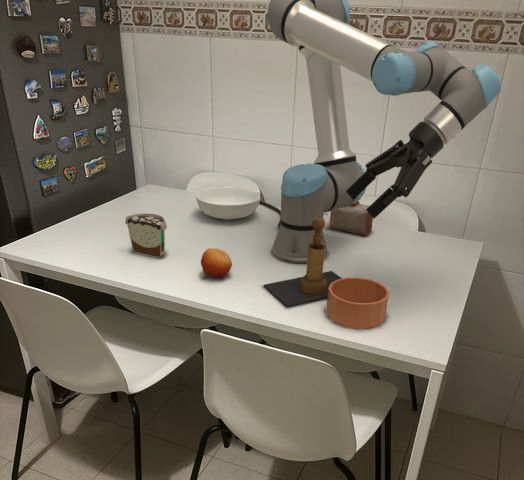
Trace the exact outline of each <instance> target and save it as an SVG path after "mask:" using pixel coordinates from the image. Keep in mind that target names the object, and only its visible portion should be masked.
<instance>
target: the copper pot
mask: <svg viewBox="0 0 524 480" xmlns="http://www.w3.org/2000/svg"><path fill="white" fill-rule="evenodd" d="M341 278H342V279H338V280H336V281H334V282H332V283H331V284H330V286H329V288H328V298H327V299H326V309H325V312H326V315H327V317H328V318H329V319H330V320H331V321H332V322H334V323H335V324H337V325H340V326H343V327H345V328H351V329H357V330H358V329H359V330H360V329H363V330H364V329H371V328H375V327H379V326H380V325H381V324H383V323H384V322H385V319H386V314H387V310H388V304H389V297H390V291H389V290H388V287H386V285H384V284H382V283H381V282H379V281H376V280H373V279H370V278H365V277H356V276H355V277H354V276H353V277H341Z"/></svg>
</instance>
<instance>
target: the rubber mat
mask: <svg viewBox="0 0 524 480" xmlns="http://www.w3.org/2000/svg"><path fill="white" fill-rule="evenodd" d="M322 276H323V277H324V278H325V279H326V280H327V288H326V291H325V292H324V293H322V294H318V295H312V294H307V293H304V292H303V291H301V289H300V281H301V278H302V277H303V276H300V277H299V276H298V277H295V278H290V279H285V280H280V281H275V282H271V283H265V284H263V288H264V289H265V290H266V291H268V292H269V293H270V294H271V295H272V296H273V297H274V298H275V299H276V300H278V301H279V302H280V303H281V304H282V306H284V307H285V308H287V309H288V308H292V307H296V306H297V307H298V306H301V305H305V304H309V303H314V302H318V301H322V300H327V298H328V288H329V286H330V284H331V283H332V282H334V281H336V280H338V279H342V278H343V277H341V276H339V275H338V274H337V273H335V272H334V271H332V270H329V271H323V273H322Z"/></svg>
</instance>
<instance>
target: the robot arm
mask: <svg viewBox="0 0 524 480" xmlns="http://www.w3.org/2000/svg"><path fill="white" fill-rule="evenodd" d="M266 16H267V23H268V26H269V29H270V31H271V33H272V34H273V35H274V36H275V37H276V38H277V39H278V40H281V41H282V42H284V43H286V44H288V45H290V46H291V47H294V48H295V47H296V48H297V47H298V53H299V54H300V55H301V56H302V57H304V59H305V60H306V71H307V77H308V85H309V92H310V99H311V108H312V116H313V122H314V133H315V138H316V147H317V156H316V158H315V160H314V161H313V163H306V164H304V163H301V164H297V165H293V166H291V167H289V168H287V169H286V170H285V171H284V173H283V175H282V181H281V185H280V193H281V194H280V196H281V197H280V208H278V207H276V206H274V205H272V204H270V203H267V202H265V201H262V200H260V201H259V204H261V205H262V206H265V207H268V208H271V209H273V210H274V211H276V212H278V213H279V214H280V221H279V222H278V224H277V227H278V231H277V233H276V236H275V238H274V241H273V245H272V254H273V256H275V258H277V259H279V260H281V261H284V262H287V263H292V264H307V259H308V246H309V244H311V243H313V235H314V233H315V231H314V228H313V226H312V220H313V219H314V218H315V217H317V216H320V217H323V218H324V214H325V213H327V212H330V211H331V210H335V209H338V208H343V207H348V206H350V205H351V204H354V203H356V202H357V201H359V202H360V200H361V199H362V197H363V196H364V195H365V193H366V190H367V187H369V186H370V184H372V182H374V181H376V179H377V176H379V175H382V174H383V173H385V172H387V171H390V170H392V169H394V168H400V169H399V172H398V174H397V176H396V179H395V181H394V183H393V184H391V185H390V186H389V187H388V188H387V189H386V190H385V191H384V192H383V193H382V194H381V195H379V196H378V198H376V199H375V200H374V201H373V202H372V203H371V204H370V205H369V207H368V208H367V209H366V210H367V211H368V212H369V214H370V215H371V216H372V217H373V220H375V219H376V218H377V217H378V216H379V215H380V214H381V213H383V211H385V209H387V208H388V207H389V206H390V205H391V204H392V203H393V202H394V201H396V200H397V198H401V197H404V198H408V197H409V196H410V194H411V193H412V191H413V189H414V188H415V187H416V185H417V183H418V182H419V180H420V179H421V177H422V176H423V174H424V172H425V171H426V169H428V167H430V166H431V164H432V163H433V160H432V159H433V158H434V157H435V156H436V155H438V153H439V152H441V151H442V149H444V147H445V145H447V144H449V143H450V141H452V140H453V139H455V138H456V136H457V135H458V134H459V133H460V132H461V131H463V130H464V129H465V127H466V126H468V125H469V123H471V122H472V121H473V120H475V118H476V117H477V116H479V114H481V113H482V112H483V111H484V110H485V109H487V108H488V106H489V105H490V104H491V103H492V102H493V100H495V99H496V98H497V97H498V95H500V93H501V91H502V82H501V80H500V78H499V76H498V74H497V72H495V71H494V70H493V69H492V68H491V67H490V66H488V65H485V64H484V63H481V64H477V66H476V67H473V68H472V69H470V68H468V67H466V66H465V65H464V64H463V63H461V62H460V61H459V60H458V59H456V57H454V56H453V55H452V54H450V52H448V51H447V49H445V48H444V47H443V46H442V45H439V44H438V43H437V42H435V41H432V40H429V41H428V40H427V41H426V42H424V43H423V44H421V45H419V46H418V47H417V48H416V49H415V51H408V50H407V51H406V50H404V49H402V48H400V47H398V46H396V45H394V44H392V43H389V42H387V41H385V40H382V39H381V38H378V37H377V36H375V35H372V34H370V33H368V32H365V31H363V30H361V29H359V28H357V27H355V26H352V25H350V23H351V7H350V4H349V1H348V0H270V1H269V4H268V7H267V15H266ZM341 66H342V67H343V68H345V69H347V70H349V71H351V72H353V73H355V74H357V75H359V76H361V77H363V78H365V79H367V80H369V81H371V82H372V84H373V86H374V88H375V90H376V91H377V92H378V93H379V94H381V95H384V96H393V97H396V96H400V95H405V94H412V93H413V94H414V93H421V92H431V94H433V95H435V97H437V98H438V100H440V102H438V103H437V104H436V106H434V107H433V108H432V109H431V110H430V111H429V112H428V113H427V114H426V115H425V116H424V117H423V121H419V122H418V123H417V124H416V125H415V126H414V127H413V128H412V129H411V130H410V131H409V133H408V137H409V140H408V141H407V142H406V143H404V141H403V140H402V139H399V140H398V141H396V142H395V144H394V145H392V146H391V147H389V148H387V149H386V150H385V151H383V152H382V153H380V154H379V155H377V156H376V157H374V158H372V159H371V160H370V161H367V163H366V164H365V168H366V169H365V168H364V167H363V166H362V164H361V163H359V162H357V161H358V160H357V154H356V153H355V152H354V151H352V150H351V148H350V142H349V141H350V139H349V133H348V123H347V115H346V114H347V112H346V103H345V96H344V87H343V86H344V85H343V78H342V70H341V69H342V68H341ZM256 192H257V191H256ZM257 193H258V192H257ZM258 194H259V195H260V192H259V193H258ZM321 235H322V241H321V243H320V244H323V245H324V246H325V254H324V259H325V258H326V257H327V253H328V252H327V251H328V247H327V242H326V238H325V234H324V228H323V229H322V231H321Z"/></svg>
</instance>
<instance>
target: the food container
mask: <svg viewBox="0 0 524 480" xmlns="http://www.w3.org/2000/svg"><path fill="white" fill-rule="evenodd" d="M124 222H125V223H124V224H125V225H127V229H128V234H129V239H130V245H131V248H132V253H134V254H139V255H144V256H148V257H153V258H158V259H162V258H164V257H165V244H166V243H165V242H166V241H165V239H166V237H165V231H166V230H167V229H168V225H167V222H166V220H165V217H163V216H162V215H160V214H155V213H148V212H147V213H145V212H144V213H133V214H130V215H127V216H126V217H125V220H124Z"/></svg>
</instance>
